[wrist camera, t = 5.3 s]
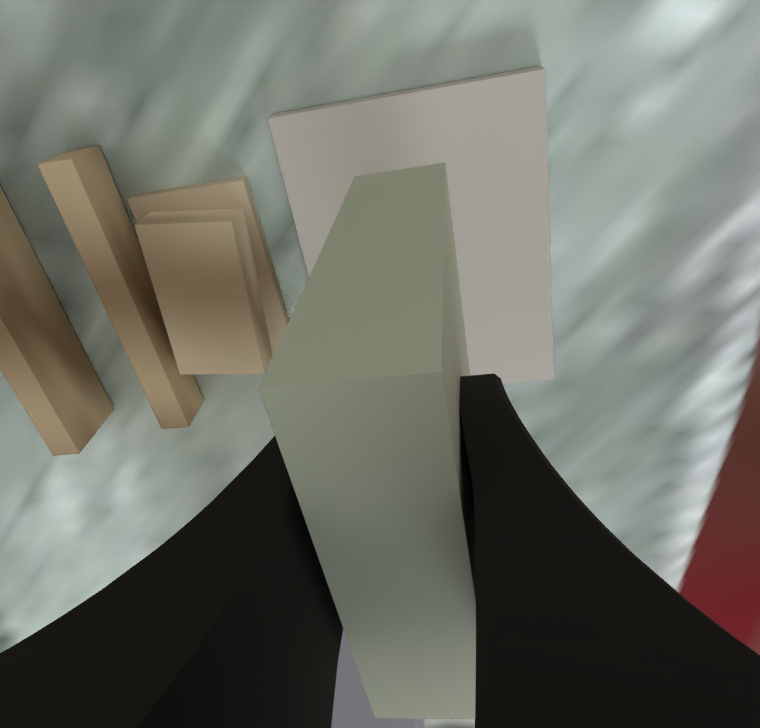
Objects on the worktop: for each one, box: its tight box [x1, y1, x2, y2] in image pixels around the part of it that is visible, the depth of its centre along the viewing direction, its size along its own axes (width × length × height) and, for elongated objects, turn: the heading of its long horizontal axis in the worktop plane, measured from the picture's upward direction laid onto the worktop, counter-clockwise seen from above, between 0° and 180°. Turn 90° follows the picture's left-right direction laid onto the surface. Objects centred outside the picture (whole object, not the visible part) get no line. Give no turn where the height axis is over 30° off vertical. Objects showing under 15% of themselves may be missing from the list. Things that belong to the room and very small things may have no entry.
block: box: [259, 162, 476, 719], centre depth 11 cm, size 7×2×8 cm, turn 10°
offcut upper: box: [135, 208, 273, 375], centre depth 18 cm, size 5×3×1 cm, turn 4°
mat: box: [268, 66, 554, 384], centre depth 17 cm, size 9×7×1 cm
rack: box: [0, 145, 204, 456], centre depth 19 cm, size 9×5×2 cm, turn 10°
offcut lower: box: [127, 176, 289, 362], centre depth 19 cm, size 6×4×1 cm, turn 10°
